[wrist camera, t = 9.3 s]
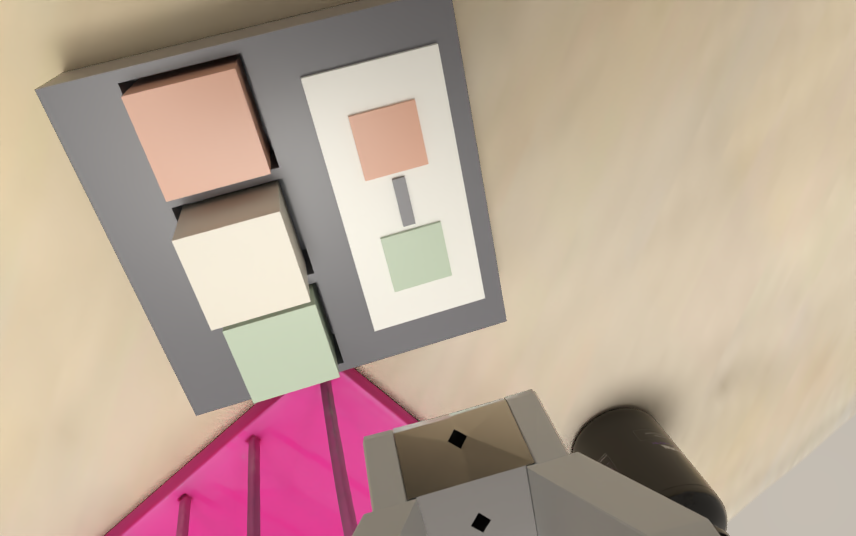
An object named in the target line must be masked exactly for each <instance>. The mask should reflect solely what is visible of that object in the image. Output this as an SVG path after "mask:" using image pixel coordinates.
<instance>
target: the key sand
mask: <svg viewBox="0 0 856 536" xmlns="http://www.w3.org/2000/svg"><path fill="white" fill-rule="evenodd" d="M172 243H173V245H174V247H175V250H176V252H177V254H178V257H179V259H180V261H181V263H182V266H183V268H184V270H185V272H186V275H187V277H188V279H189V281H190V284H191V286H192V288H193V290H194V293H195V295H196V297H197V299H198V302H199V304H200V306H201V308H202V311H203V313H204V315H205V318H206V320H207V322H208V324H209V327H210V329H211V331H212V330H215V329H219V328H222V327H226V326H229V325H232V324H236V323H239V322H243V321H246V320H250V319H253V318H256V317H260V316H263V315H267V314H270V313H274V312H277V311H280V310H284V309H287V308H291V307H294V306H298V305H301V304H304V303H308V302H311V299H310V292H309V284H308V277H307V269H306V262H305V259H304V256H303V253H302V250H301V247H300V244H299V241H298V238H297V235H296V232H295V229H294V226H293V223H292V220H291V217H290V214H289V211H288V208H287V205H286V203H285V200H284V197H283V194H282V191H281V188H280V185H279V182H278V180H277V181H273V182H270V183H266V184H262V185H258V186H255V187H251V188H247V189H244V190H240V191H236V192H233V193H229V194H225V195H221V196H218V197H214V198H210V199H207V200H203V201H199V202H195V203H192V204H188V205H184V206H183V207H182V210H181V213H180V216H179V220H178V223H177V226H176V229H175V232H174V235H173V239H172Z"/></svg>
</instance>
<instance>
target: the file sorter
mask: <svg viewBox="0 0 856 536" xmlns="http://www.w3.org/2000/svg"><path fill="white" fill-rule="evenodd" d="M339 375H340V377H339V378H336V379H333V380H329V381H326V382H323V383H320V384H316V385H313V386H310V387H306V388H303V389H300V390H297V391H293V392H290V393H287V394H284V395H280V396H277V397H274V398H271V399H267V400H264V401H261V402H257V403H256V404H255V405H254V406H253V407H252V408H250V409H249V410H248V411H247V412H246V413H245V414H244V415H242V416H241V417H240V418H239V419H238V420H237V421H236V422H234V423H233V424H232V425H231V426H230V427H228V428H227V429H226V430H225V431H224V432H223V433H222V434H221V435H219V436H218V437H217V438H216V439H215V440H214V441H213V442H212V443H210V444H209V445H208V446H207V447H206V448H205V449H203V450H202V451H201V452H200V453H199V454H198V455H196V456H195V457H194V458H193V459H192V460H191V461H189V462H188V463H187V464H186V465H185V466H184V467H183V468H181V469H180V470H179V471H178V472H177V473H176V474H174V475H173V476H172V477H171V478H170V479H169V480H168V481H166V482H165V483H164V484H163V485H162V486H161V487H160V488H158V489H157V490H156V491H155V492H154V493H153V494H152V495H150V496H149V497H148V498H147V499H146V500H145V501H144V502H142V503H141V504H140V505H139V506H138V507H137V508H135V509H134V510H133V511H132V512H131V513H130V514H129V515H127V516H126V517H125V518H124V519H123V520H122V521H121V522H119V523H118V524H117V525H116V526H115V527H114V528H112V529H111V530H110V531H109V532H108V533H107V534H106V535H104V536H352V535H353V533H354V531H355V529H356V527H357V526H358V524H359V522H360V520H361V518H362V516H363V515H364V514H366V513H370V512H372V506H371V499H370V492H369V484H368V477H367V470H366V463H365V456H364V448H363V438H364V437H365V436H368V435H372V434H376V433H380V432H384V431H388V430H393V428H397V427H401V426H405V425H409V424H413V423H416V422H419V421H417V420H416V419H415V418H414V417H412V416H411V415H410V414H409V413H408V412H406V411H405V410H404V409H403V408H402V407H400V406H399V405H398V404H397V403H396V402H394V401H393V400H392V399H391V398H389V397H388V396H387V395H386V394H385V393H383V392H382V391H381V390H380V389H378V388H377V387H376V386H375V385H374V384H372V383H371V382H370V381H369V380H367V379H366V378H365V377H364V376H362V375H361V374H360V373H359V372H358V371H356V370H355V369H354V368H351V369H348V370H345V371H341V372H339Z"/></svg>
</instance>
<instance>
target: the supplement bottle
mask: <svg viewBox="0 0 856 536" xmlns="http://www.w3.org/2000/svg"><path fill="white" fill-rule="evenodd" d="M575 452H579V453H581V454H583V455H585V456H587V457H589V458H591V459H593V460H595V461H597V462H599V463H600V464H602V465H604V466H606V467H608V468H610V469H612V470H614V471H616V472H618V473H620V474H622V475H624V476H626V477H628V478H630V479H632V480H633V481H635V482H637V483H639V484H641V485H643V486H645V487H647V488H649V489H651V490H653V491H655V492H657V493H659V494H661V495H663V496H665V497H667V498H668V499H670V500H672V501H674V502H676V503H678V504H680V505H682V506H684V507H686V508H688V509H690V510H692V511H694V512H696V513H698V514H700V515H701V516H703V517H705V518H707V519H709V521H710V522H711V523H712V525H713V526H714V528H715V529H716V530H717V532H718V533H719V535H720V536H729V534H727V532H726V530H727V514H726V510H725V507H724V505H723V503H722V501H721V500H720V498H719V497H718V496H717V494H716V493H715V492H714V490H713V489H712V488H711V487H710V486H709V484H708V483H707V482H706V481H705V479H704V478H703V477H702V476H701V475H700V473H699V472H698V471H697V470H696V469H695V467H694V466H693V465H692V464H691V462H690V461H689V460H688V459H687V458H686V456H685V455H684V454H683V453H682V451H681V450H680V449H679V448H678V447H677V445H676V444H675V443H674V442H673V440H672V439H671V438H670V437H669V436H668V434H667V433H666V432H665V431H664V430H663V428H662V427H661V426H660V425H659V424H658V423H657V421H656V420H655V419H654V418H653V417H652V416H651V415H649V414H648V413H646V412H644V411H642V410H638V409H634V408H620V409H615V410H611V411H608V412H606V413H603V414H601V415H600V416H598V417H596V418H595V419H593V420H592V421H591V422H590V423H589V424H587V425H586V426H585V428H584V429H583V430H582V431H581V433H580V434H579V436H578V437H577V439H576V442H575V444H574V448H573V453H575Z"/></svg>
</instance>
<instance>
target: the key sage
mask: <svg viewBox="0 0 856 536" xmlns="http://www.w3.org/2000/svg"><path fill="white" fill-rule="evenodd" d="M309 292H310V299H311V302H308V303H304V304H301V305H298V306H294V307H291V308H287V309H284V310H280V311H277V312H274V313H270V314H267V315H263V316H260V317H256V318H253V319H250V320H246V321H243V322H239V323H236V324H232V325H229V326H226V327H223V331H222V332H223V334H224V336H225V339H226V341H227V343H228V346H229V348H230V350H231V353H232V355H233V357H234V359H235V362H236V364H237V366H238V369H239V371H240V373H241V376H242V378H243V380H244V383H245V385H246V387H247V390H248V392H249V394H250V396H251V399H252V401H253V403H257V402H261V401H264V400H267V399H271V398H274V397H277V396H280V395H284V394H287V393H290V392H293V391H297V390H300V389H303V388H306V387H310V386H313V385H316V384H320V383H323V382H326V381H329V380H333V379H336V378H339V377H340V375H339V369H338V363H337V358H336V352H335V346H334V341H333V335H332V332H331V329H330V326H329V323H328V320H327V317H326V314H325V311H324V308H323V305H322V302H321V299H320V296H319V293H318V290H317V287H316V284H315V283H312V284H309Z"/></svg>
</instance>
